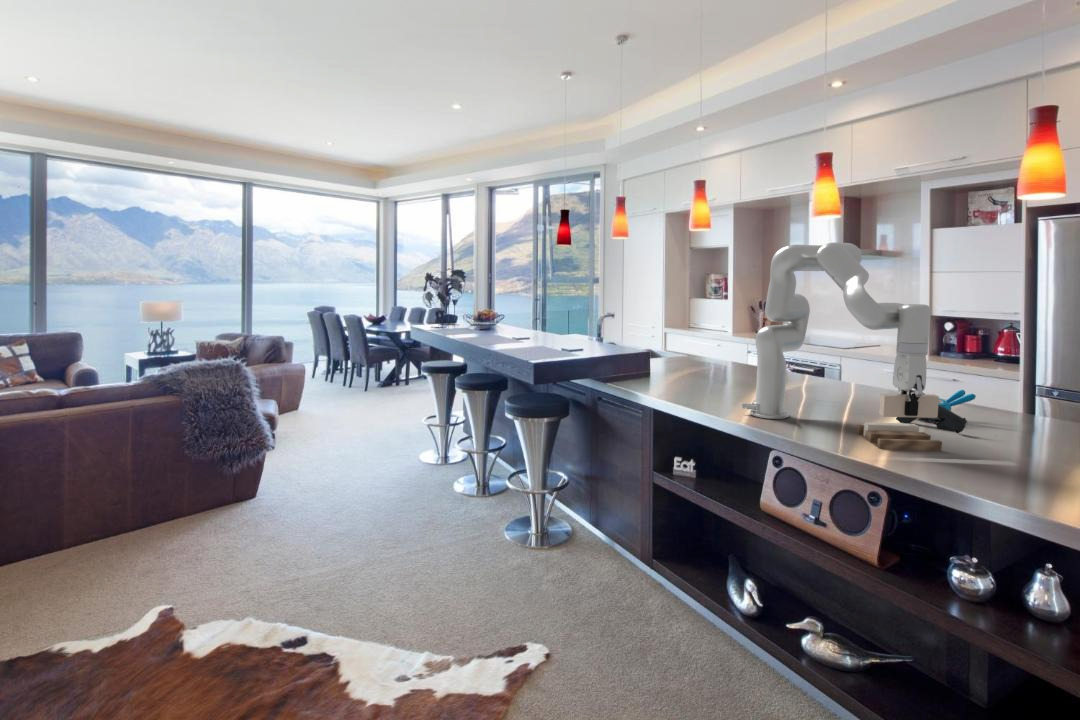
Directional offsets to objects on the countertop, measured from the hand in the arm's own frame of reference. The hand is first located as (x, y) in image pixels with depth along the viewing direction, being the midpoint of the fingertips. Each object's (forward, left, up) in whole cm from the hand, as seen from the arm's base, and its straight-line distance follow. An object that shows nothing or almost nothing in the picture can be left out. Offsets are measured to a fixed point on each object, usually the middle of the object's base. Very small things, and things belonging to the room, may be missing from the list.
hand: (907, 413), depth 172 cm
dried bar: (0, +9, -9) cm, 13 cm away
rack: (0, +5, -10) cm, 11 cm away
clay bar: (0, 0, -1) cm, 1 cm away
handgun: (+18, +25, -11) cm, 32 cm away
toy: (+27, +40, -11) cm, 49 cm away
